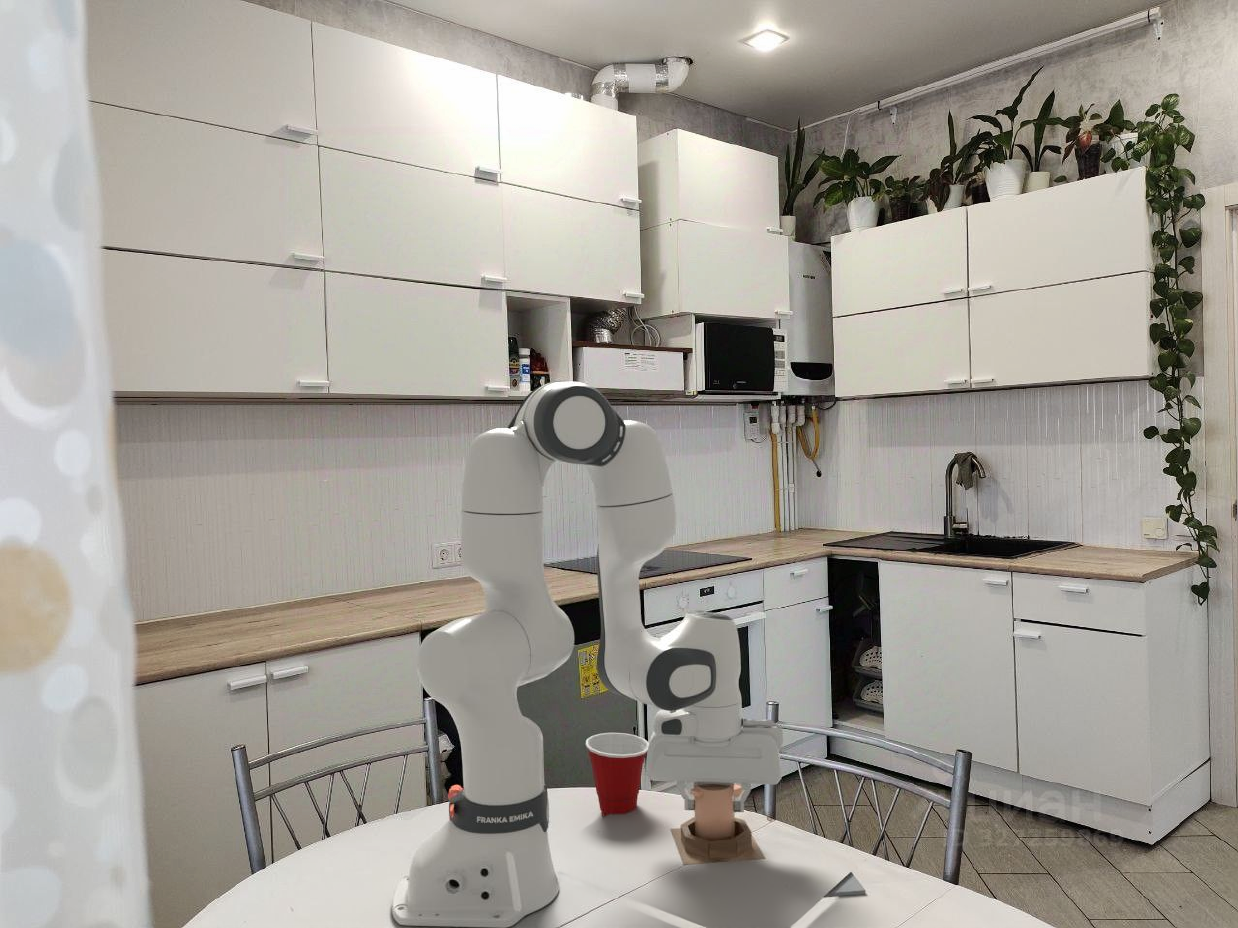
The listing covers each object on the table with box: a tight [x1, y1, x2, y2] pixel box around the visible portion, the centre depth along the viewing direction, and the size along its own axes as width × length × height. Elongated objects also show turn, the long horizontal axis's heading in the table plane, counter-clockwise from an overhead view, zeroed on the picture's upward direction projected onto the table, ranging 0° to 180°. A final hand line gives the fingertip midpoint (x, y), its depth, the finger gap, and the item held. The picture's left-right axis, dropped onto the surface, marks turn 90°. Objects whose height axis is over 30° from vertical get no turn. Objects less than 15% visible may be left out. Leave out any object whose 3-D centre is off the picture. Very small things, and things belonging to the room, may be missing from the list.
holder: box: [670, 816, 766, 866], centre depth 132 cm, size 12×12×3 cm
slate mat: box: [823, 871, 866, 898], centre depth 122 cm, size 10×10×1 cm
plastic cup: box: [585, 732, 650, 817], centre depth 146 cm, size 11×11×12 cm
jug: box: [689, 782, 743, 841], centre depth 132 cm, size 9×6×8 cm, turn 125°
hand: (714, 809), depth 132 cm, fingers closed on jug, 6 cm apart
